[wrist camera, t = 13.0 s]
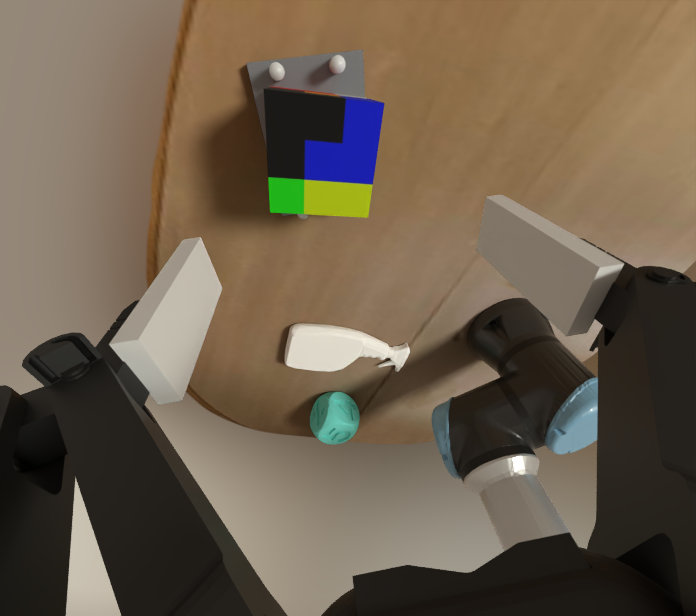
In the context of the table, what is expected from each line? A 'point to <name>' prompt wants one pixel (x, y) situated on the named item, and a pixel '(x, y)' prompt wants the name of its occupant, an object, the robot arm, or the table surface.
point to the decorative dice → (334, 418)
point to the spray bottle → (336, 348)
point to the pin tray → (308, 78)
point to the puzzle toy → (320, 151)
